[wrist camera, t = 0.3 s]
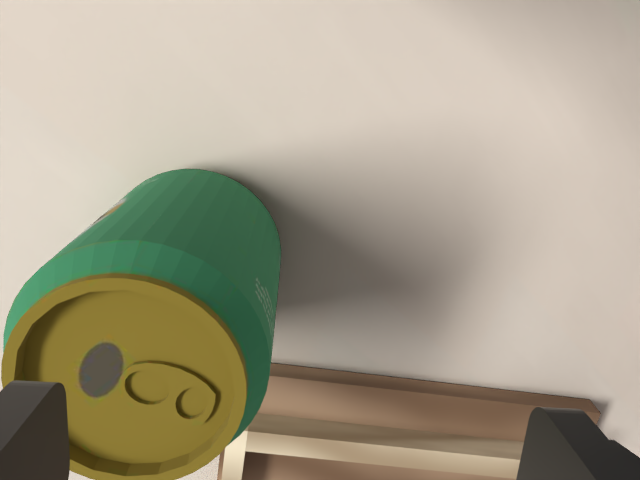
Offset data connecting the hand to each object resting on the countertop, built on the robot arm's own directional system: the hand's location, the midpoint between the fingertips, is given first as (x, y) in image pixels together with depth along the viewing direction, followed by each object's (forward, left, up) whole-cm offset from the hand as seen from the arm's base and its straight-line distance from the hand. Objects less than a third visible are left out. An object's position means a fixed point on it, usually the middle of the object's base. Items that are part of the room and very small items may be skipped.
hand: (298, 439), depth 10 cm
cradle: (+15, +7, -18) cm, 25 cm away
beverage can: (+3, -5, -18) cm, 19 cm away
